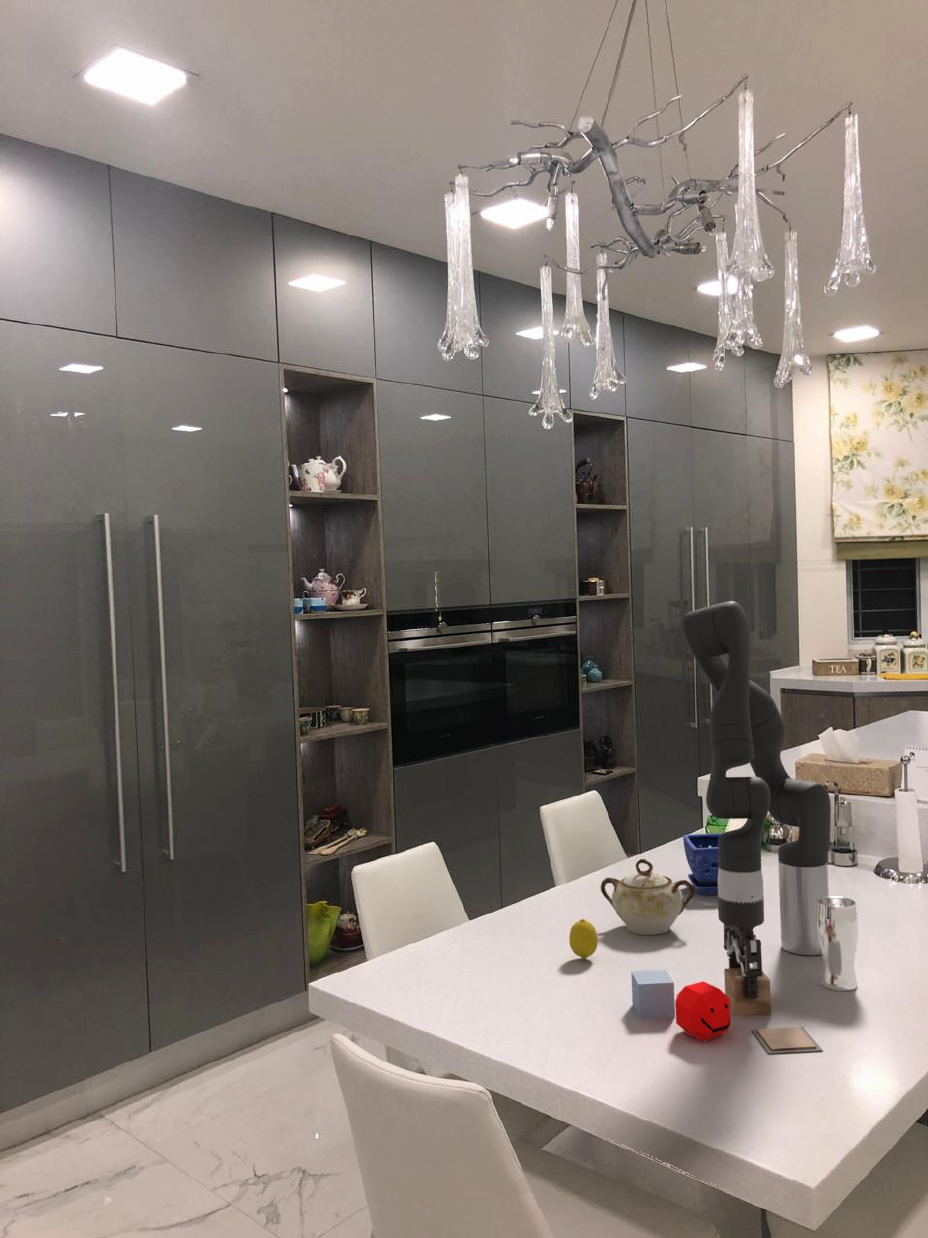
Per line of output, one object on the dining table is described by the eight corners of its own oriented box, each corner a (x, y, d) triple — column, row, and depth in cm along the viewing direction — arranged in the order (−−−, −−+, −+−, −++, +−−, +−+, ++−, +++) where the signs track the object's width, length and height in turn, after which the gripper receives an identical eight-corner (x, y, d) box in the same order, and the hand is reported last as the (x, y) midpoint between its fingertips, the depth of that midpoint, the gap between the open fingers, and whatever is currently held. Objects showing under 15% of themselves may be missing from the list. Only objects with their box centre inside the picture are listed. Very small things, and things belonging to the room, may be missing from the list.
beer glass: (859, 979, 183) (856, 897, 183) (860, 994, 177) (858, 908, 176) (818, 976, 186) (815, 894, 185) (818, 990, 179) (815, 906, 179)
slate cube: (666, 1003, 176) (665, 969, 176) (675, 1018, 170) (673, 982, 170) (632, 1005, 176) (631, 971, 176) (639, 1020, 170) (638, 984, 170)
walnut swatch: (802, 1028, 164) (802, 1025, 164) (822, 1051, 156) (822, 1048, 156) (751, 1031, 164) (751, 1028, 164) (768, 1054, 155) (768, 1051, 155)
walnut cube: (759, 1001, 176) (758, 967, 175) (771, 1015, 170) (770, 980, 169) (725, 1003, 175) (724, 968, 175) (735, 1017, 169) (734, 982, 169)
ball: (701, 1050, 158) (699, 1001, 158) (668, 1031, 165) (666, 985, 165) (740, 1037, 162) (738, 990, 161) (706, 1020, 169) (704, 974, 168)
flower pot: (751, 896, 235) (750, 845, 235) (694, 898, 235) (692, 847, 235) (737, 880, 248) (735, 832, 248) (683, 882, 249) (681, 834, 248)
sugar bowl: (594, 937, 212) (591, 865, 211) (609, 915, 226) (607, 848, 225) (690, 944, 205) (687, 871, 205) (699, 921, 219) (697, 852, 219)
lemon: (597, 965, 196) (595, 924, 195) (568, 964, 197) (567, 923, 197) (599, 955, 201) (597, 915, 201) (571, 954, 202) (570, 914, 202)
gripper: (776, 905, 165) (778, 1004, 166) (750, 882, 180) (752, 973, 180) (730, 907, 165) (732, 1006, 165) (708, 883, 179) (710, 974, 180)
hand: (743, 988), depth 173 cm, fingers open, 8 cm apart
